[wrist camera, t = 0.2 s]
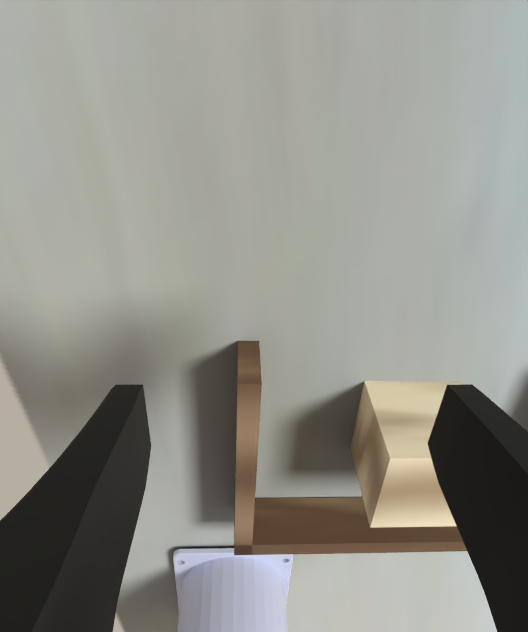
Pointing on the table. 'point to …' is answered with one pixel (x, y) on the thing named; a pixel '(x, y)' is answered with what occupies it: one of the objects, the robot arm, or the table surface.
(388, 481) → the maple block
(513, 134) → the table surface
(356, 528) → the open walnut frame
